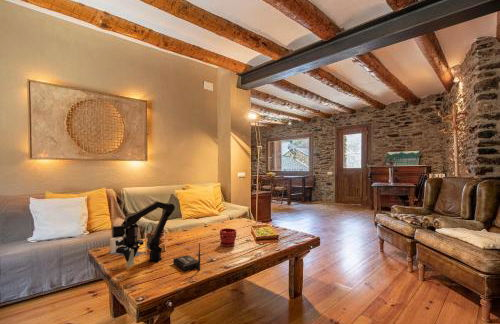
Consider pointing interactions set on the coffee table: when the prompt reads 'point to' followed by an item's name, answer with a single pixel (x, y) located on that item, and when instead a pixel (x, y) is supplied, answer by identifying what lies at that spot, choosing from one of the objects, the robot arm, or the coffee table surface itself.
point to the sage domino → (131, 258)
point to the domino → (119, 246)
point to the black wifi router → (187, 262)
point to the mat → (123, 254)
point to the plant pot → (227, 237)
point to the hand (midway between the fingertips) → (130, 259)
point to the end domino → (112, 245)
